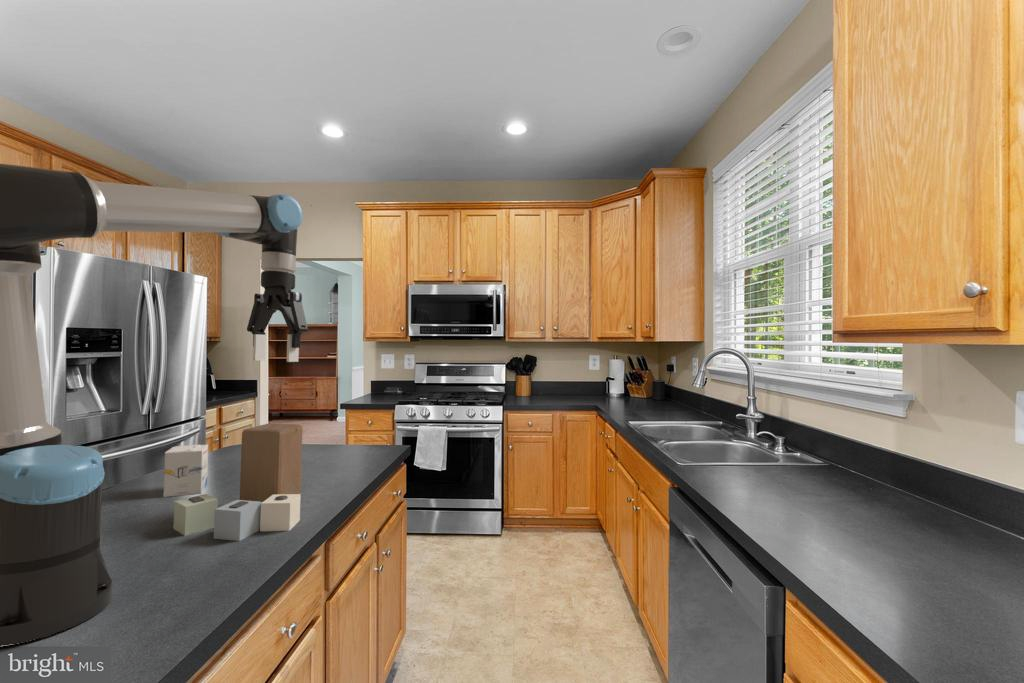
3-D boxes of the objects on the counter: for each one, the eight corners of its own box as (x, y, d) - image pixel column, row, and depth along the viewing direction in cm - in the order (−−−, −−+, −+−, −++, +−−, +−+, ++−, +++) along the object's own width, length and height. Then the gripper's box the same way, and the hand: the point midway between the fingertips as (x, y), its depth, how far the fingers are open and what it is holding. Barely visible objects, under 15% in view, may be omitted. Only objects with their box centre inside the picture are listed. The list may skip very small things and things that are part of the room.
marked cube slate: (239, 541, 90) (240, 510, 90) (213, 538, 91) (214, 507, 91) (260, 529, 96) (261, 500, 96) (236, 527, 97) (237, 498, 97)
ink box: (171, 488, 123) (172, 445, 123) (207, 484, 126) (209, 443, 126) (162, 497, 115) (163, 452, 115) (201, 493, 118) (203, 449, 119)
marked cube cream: (289, 531, 96) (290, 501, 96) (260, 531, 95) (261, 502, 95) (299, 520, 102) (300, 492, 102) (272, 521, 101) (273, 493, 101)
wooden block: (301, 503, 113) (304, 424, 113) (277, 517, 103) (280, 430, 103) (264, 501, 114) (267, 422, 114) (236, 515, 104) (240, 429, 104)
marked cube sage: (184, 536, 92) (186, 505, 92) (173, 529, 95) (174, 499, 96) (217, 527, 97) (218, 497, 97) (205, 520, 100) (206, 492, 101)
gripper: (325, 272, 108) (322, 362, 108) (260, 277, 118) (257, 359, 117) (299, 266, 102) (296, 362, 101) (232, 272, 111) (229, 359, 111)
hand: (275, 361), depth 109 cm, fingers open, 11 cm apart
